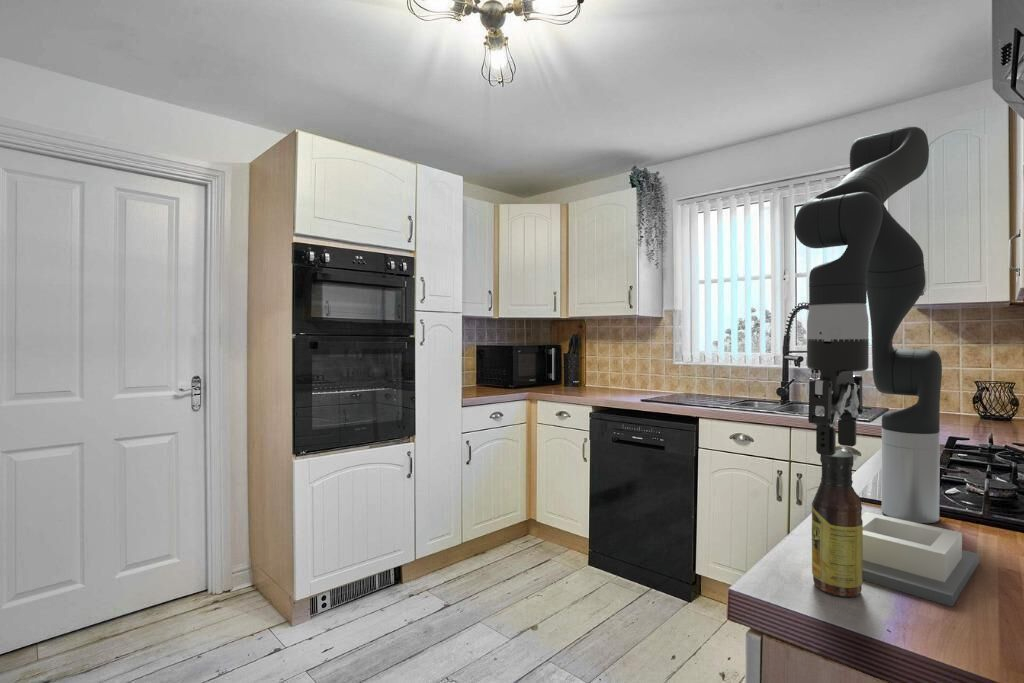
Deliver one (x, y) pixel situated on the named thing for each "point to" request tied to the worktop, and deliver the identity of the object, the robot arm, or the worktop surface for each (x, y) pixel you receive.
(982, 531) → the worktop surface
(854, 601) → the worktop surface
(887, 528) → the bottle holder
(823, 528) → the sauce bottle
